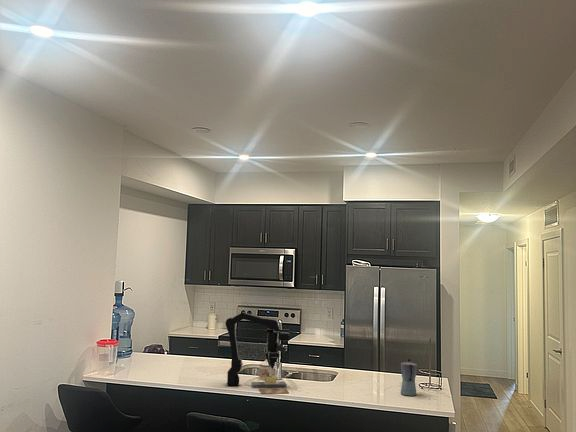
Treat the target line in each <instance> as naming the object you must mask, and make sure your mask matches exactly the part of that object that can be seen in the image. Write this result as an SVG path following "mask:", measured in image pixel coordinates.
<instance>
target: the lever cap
mask: <svg viewBox="0 0 576 432" xmlns="http://www.w3.org/2000/svg"><path fill="white" fill-rule="evenodd" d="M276 381H277V376H276V375H274V376H265V380H264V382H266V384H272V383H276Z"/></svg>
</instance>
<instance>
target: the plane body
mask: <svg viewBox="0 0 576 432" xmlns="http://www.w3.org/2000/svg"><path fill="white" fill-rule="evenodd" d="M250 385H251V388H252V389H277V388H286V389H287V383H286V382H285V381H277V380H276V383H272V384H266V382H265V381H251V383H250Z"/></svg>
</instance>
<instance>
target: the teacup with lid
mask: <svg viewBox="0 0 576 432" xmlns="http://www.w3.org/2000/svg"><path fill="white" fill-rule="evenodd" d="M274 370H275V373H274ZM277 373H278V369H277V368H276V367H274V368H273V369H272V368H271V365H269V364H268V361H267V358H266V359H265V360H264V361H262V362H260V363H259V374H258V375H259V376H258V377H259V379H260V380H264V381H265V376H276V375H277Z"/></svg>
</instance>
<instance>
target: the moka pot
mask: <svg viewBox="0 0 576 432" xmlns="http://www.w3.org/2000/svg"><path fill="white" fill-rule="evenodd" d="M417 368H418V364H417V363H414V362H411V359H410V358H409V359H408V358H407V361H405V362H404V361H403V362H401V363H400V370H401V371H400V372H401V377H402V382H401V387H400V388H401V389H400V395H403V396H411V397H414V396H417V388H416V376H417Z"/></svg>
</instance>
